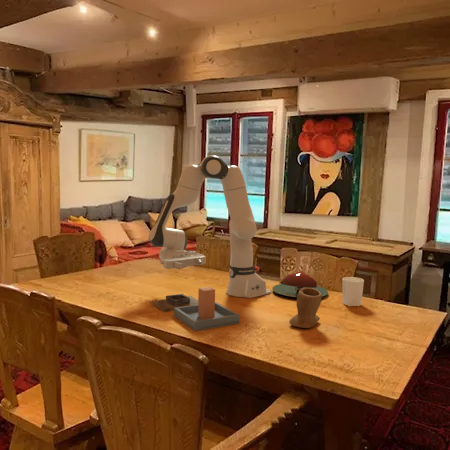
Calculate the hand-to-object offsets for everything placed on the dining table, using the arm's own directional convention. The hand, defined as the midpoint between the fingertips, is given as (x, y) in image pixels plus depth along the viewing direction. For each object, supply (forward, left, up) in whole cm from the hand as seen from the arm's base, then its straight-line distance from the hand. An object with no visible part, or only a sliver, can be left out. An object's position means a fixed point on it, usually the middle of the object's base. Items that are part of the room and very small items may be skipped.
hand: (191, 264), depth 209 cm
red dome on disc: (-59, +4, -19) cm, 62 cm away
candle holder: (-69, +30, -19) cm, 78 cm away
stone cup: (-31, +43, -19) cm, 57 cm away
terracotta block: (+3, +20, -18) cm, 27 cm away
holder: (+5, -4, -19) cm, 20 cm away
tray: (+3, +20, -19) cm, 28 cm away
